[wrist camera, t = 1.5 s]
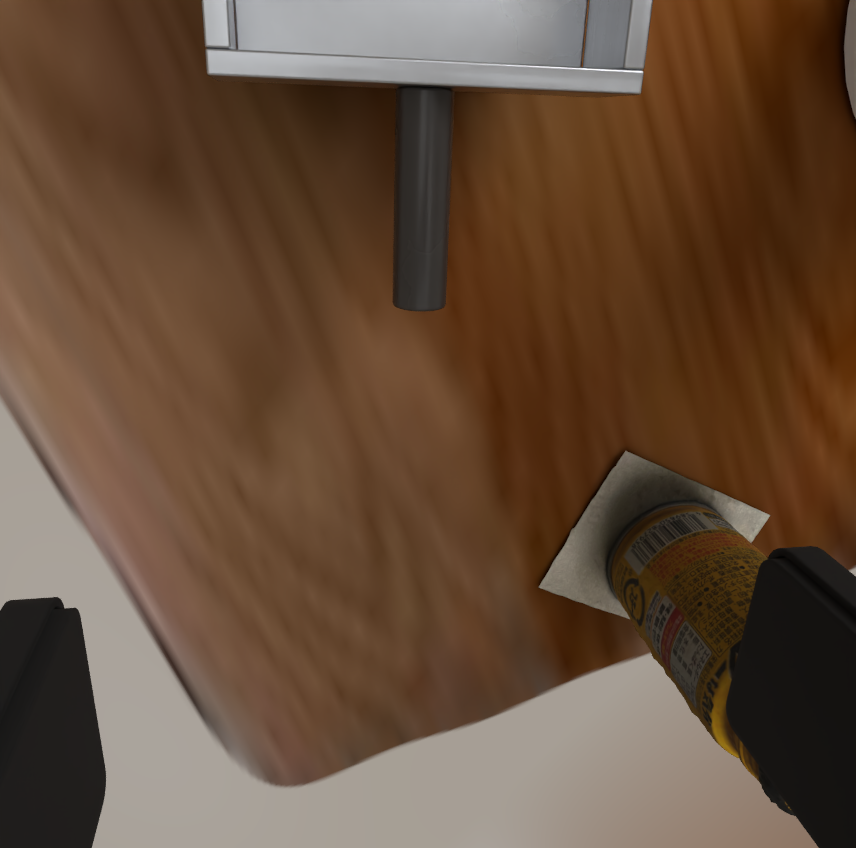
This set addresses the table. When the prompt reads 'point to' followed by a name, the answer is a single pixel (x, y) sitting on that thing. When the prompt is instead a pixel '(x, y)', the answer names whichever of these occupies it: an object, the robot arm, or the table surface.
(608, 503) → the condiment
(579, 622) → the table surface
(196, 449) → the table surface
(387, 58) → the scoop
